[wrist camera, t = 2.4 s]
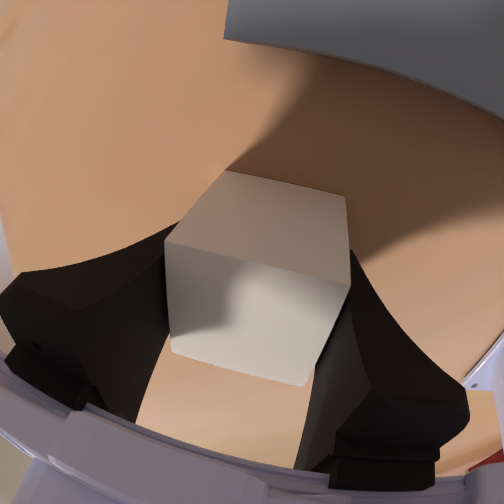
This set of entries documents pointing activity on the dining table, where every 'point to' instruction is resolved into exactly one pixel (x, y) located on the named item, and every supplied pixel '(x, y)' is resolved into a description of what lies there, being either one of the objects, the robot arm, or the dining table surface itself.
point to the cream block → (258, 276)
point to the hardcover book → (490, 460)
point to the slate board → (390, 39)
